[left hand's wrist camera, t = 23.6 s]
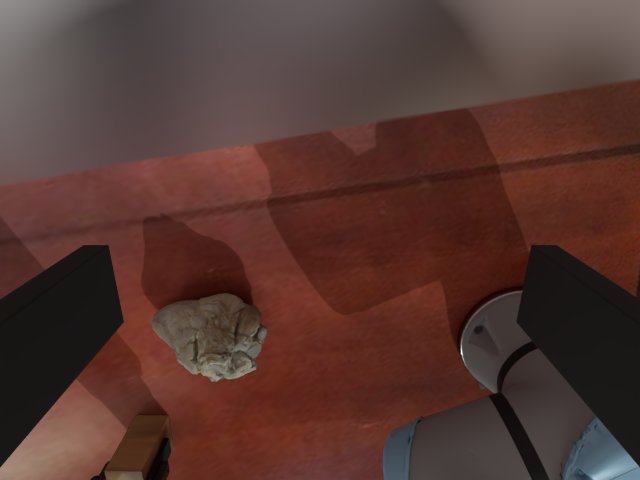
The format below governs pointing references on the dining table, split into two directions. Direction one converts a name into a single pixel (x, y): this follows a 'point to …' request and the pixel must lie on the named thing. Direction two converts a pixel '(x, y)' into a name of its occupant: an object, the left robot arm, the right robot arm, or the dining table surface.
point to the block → (139, 448)
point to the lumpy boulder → (212, 335)
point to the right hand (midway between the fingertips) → (148, 444)
